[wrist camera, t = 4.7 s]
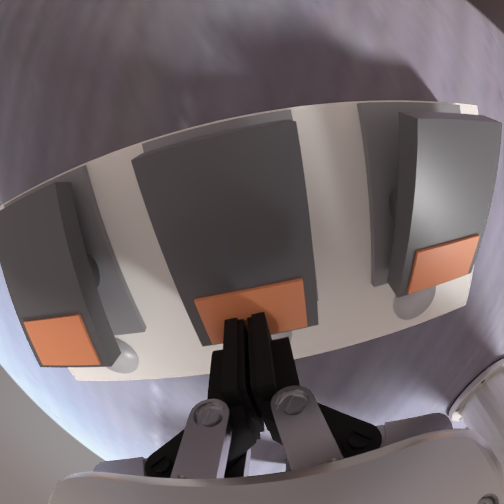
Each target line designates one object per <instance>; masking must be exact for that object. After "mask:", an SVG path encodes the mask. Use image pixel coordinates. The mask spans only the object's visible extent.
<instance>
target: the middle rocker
mask: <svg viewBox="0 0 504 504" xmlns="http://www.w3.org/2000/svg"><path fill="white" fill-rule="evenodd" d="M131 162H132V166H133V169H134V172H135V176H136V179H137V182H138V185H139V188H140V191H141V194H142V197H143V200H144V203H145V206H146V209H147V212H148V215H149V218H150V221H151V223H152V226H153V229H154V232H155V235H156V237H157V240H158V243H159V245H160V248H161V251H162V253H163V256H164V258H165V261H166V264H167V266H168V269H169V271H170V274H171V276H172V278H173V281H174V283H175V286H176V288H177V291H178V293H179V295H180V298H181V300H182V302H183V305H184V307H185V309H186V312H187V314H188V316H189V318H190V321H191V323H192V325H193V327H194V329H195V332H196V334H197V336H198V338H199V340H200V342H201V344H202V347H203V346H210V345H217V344H223V337H224V321H225V320H226V319H231V318H236V317H237V318H238V320H239V319H243V320H244V323H245V326H246V329H247V332H248V328H247V318H249V317H252V316H251V314H256V313H260V312H265V316H266V320H267V324H268V327H269V331H270V334H271V335H273V334H278V333H283V332H288V331H293V330H297V329H302V328H306V327H311V326H315V325H319V324H318V307H317V292H316V279H315V266H314V255H313V245H312V235H311V225H310V216H309V208H308V199H307V191H306V184H305V176H304V169H303V162H302V155H301V149H300V142H299V136H298V130H297V124H296V121H293V120H289V119H286V120H280V121H274V122H268V123H262V124H256V125H251V126H246V127H241V128H236V129H231V130H226V131H222V132H218V133H213V134H209V135H205V136H201V137H197V138H193V139H189V140H185V141H182V142H178V143H174V144H171V145H167V146H164V147H161V148H157V149H154V150H151V151H148V152H144V153H142V154H140V155H138V156H137V157H135V158H134V159H132V160H131Z"/></svg>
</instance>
